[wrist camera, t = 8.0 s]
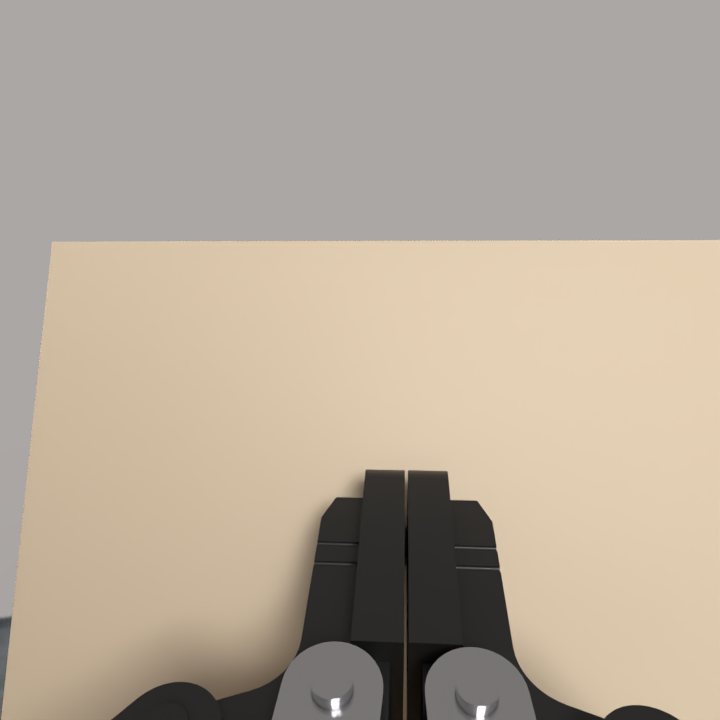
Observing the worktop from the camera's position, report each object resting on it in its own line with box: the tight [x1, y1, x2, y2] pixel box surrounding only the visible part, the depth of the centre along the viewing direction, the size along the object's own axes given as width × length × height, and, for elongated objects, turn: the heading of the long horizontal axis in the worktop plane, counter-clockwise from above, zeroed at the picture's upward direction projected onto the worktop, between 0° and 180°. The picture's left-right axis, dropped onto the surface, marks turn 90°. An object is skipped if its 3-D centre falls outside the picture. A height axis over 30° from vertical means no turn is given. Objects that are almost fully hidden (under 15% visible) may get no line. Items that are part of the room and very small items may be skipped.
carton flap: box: [1, 240, 720, 720], centre depth 12 cm, size 15×13×1 cm
